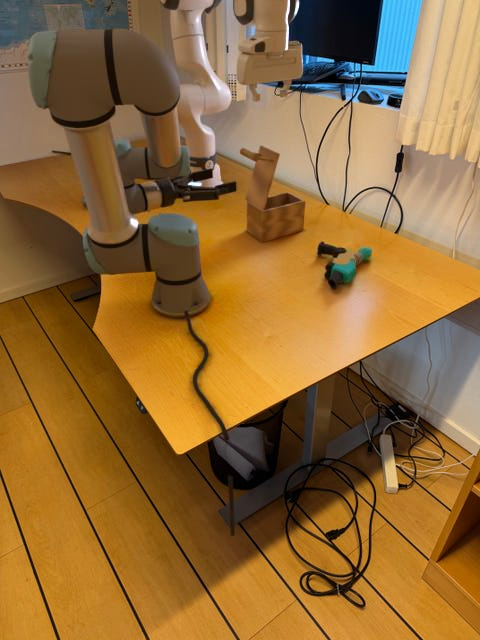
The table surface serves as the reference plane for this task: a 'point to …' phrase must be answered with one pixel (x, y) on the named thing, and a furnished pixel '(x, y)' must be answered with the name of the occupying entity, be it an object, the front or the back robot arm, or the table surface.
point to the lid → (261, 175)
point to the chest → (276, 217)
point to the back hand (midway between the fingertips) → (270, 99)
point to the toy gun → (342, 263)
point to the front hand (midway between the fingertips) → (223, 179)
